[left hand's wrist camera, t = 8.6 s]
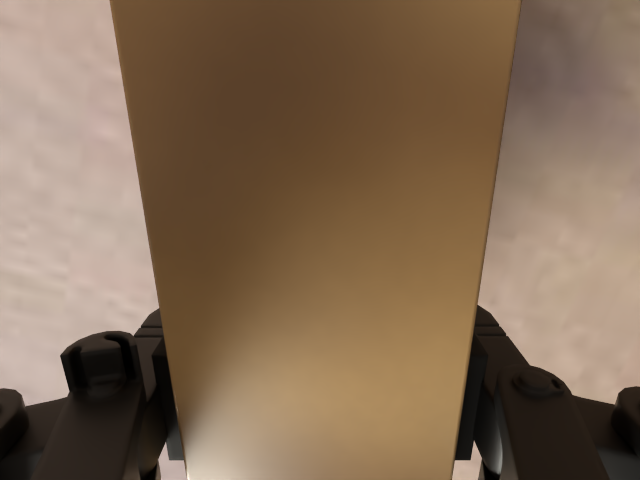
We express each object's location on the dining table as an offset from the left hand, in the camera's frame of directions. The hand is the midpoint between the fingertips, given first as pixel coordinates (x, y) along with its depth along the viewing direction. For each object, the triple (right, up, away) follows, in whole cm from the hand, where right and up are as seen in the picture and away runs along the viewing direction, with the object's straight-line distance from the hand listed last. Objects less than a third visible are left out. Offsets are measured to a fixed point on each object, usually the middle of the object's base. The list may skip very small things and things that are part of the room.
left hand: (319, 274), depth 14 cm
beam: (0, +17, -6) cm, 18 cm away
